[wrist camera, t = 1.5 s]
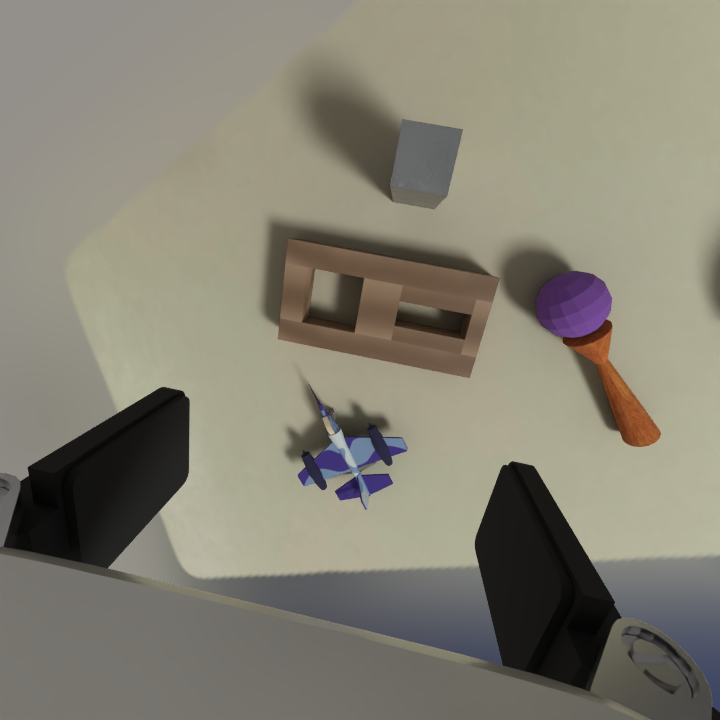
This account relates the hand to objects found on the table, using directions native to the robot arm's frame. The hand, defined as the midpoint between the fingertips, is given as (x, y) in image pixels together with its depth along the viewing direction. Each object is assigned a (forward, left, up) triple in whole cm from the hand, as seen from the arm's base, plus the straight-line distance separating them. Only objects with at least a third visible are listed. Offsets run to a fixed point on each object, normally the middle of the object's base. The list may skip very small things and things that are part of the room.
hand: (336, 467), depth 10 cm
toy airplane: (+17, -1, -29) cm, 33 cm away
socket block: (0, 0, -28) cm, 28 cm away
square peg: (-12, +1, -28) cm, 31 cm away
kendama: (+1, +22, -29) cm, 36 cm away
